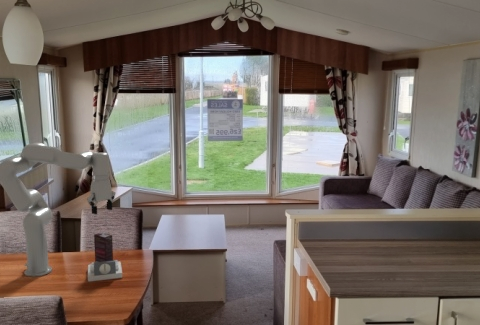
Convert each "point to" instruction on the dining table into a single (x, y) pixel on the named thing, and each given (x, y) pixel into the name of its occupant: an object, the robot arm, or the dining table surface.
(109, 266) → the scale base
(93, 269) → the pan
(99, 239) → the supplement box
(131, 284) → the dining table surface
